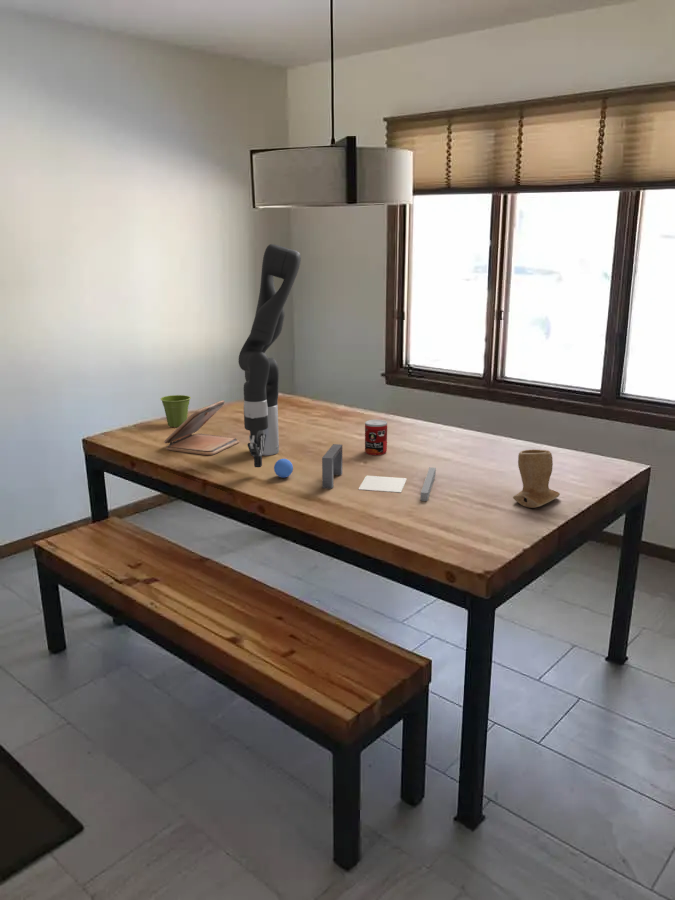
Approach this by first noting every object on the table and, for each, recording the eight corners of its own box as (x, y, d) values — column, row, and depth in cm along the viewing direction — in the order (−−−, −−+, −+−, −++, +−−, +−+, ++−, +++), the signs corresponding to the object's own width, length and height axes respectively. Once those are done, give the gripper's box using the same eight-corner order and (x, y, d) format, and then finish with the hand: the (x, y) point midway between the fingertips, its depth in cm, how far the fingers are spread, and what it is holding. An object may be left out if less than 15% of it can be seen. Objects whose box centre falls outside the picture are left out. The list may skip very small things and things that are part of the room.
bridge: (322, 488, 231) (322, 457, 228) (333, 472, 245) (333, 444, 242) (331, 488, 230) (331, 458, 227) (342, 473, 244) (342, 444, 241)
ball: (271, 479, 239) (271, 461, 237) (277, 473, 244) (276, 455, 243) (290, 480, 237) (289, 462, 236) (295, 474, 243) (295, 456, 241)
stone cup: (528, 489, 229) (531, 442, 225) (564, 498, 222) (568, 449, 217) (501, 502, 219) (504, 452, 214) (538, 512, 211) (542, 461, 207)
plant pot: (198, 424, 304) (197, 397, 300) (174, 430, 295) (172, 402, 292) (180, 420, 311) (178, 393, 308) (156, 425, 302) (154, 398, 299)
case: (195, 436, 289) (192, 395, 284) (242, 442, 280) (240, 400, 275) (161, 450, 271) (158, 407, 266) (211, 458, 262) (208, 413, 258)
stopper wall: (420, 500, 220) (420, 492, 220) (429, 474, 243) (429, 467, 242) (427, 501, 220) (427, 492, 219) (435, 475, 242) (435, 467, 242)
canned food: (361, 454, 265) (361, 423, 261) (369, 448, 272) (369, 418, 268) (382, 456, 262) (383, 425, 259) (389, 450, 269) (390, 420, 266)
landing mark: (358, 489, 229) (358, 488, 229) (366, 476, 242) (366, 475, 242) (401, 492, 227) (401, 492, 227) (406, 478, 239) (406, 478, 239)
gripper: (250, 408, 244) (252, 460, 249) (237, 418, 231) (240, 472, 236) (273, 409, 243) (275, 461, 247) (261, 419, 230) (263, 473, 235)
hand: (258, 466), depth 242 cm, fingers closed
